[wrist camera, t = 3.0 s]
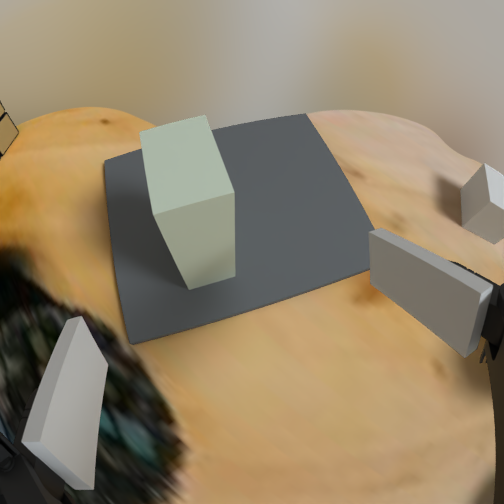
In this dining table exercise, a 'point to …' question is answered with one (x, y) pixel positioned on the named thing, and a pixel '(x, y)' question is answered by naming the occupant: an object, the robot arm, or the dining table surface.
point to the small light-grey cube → (484, 204)
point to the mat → (241, 230)
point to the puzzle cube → (6, 131)
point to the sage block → (191, 199)
